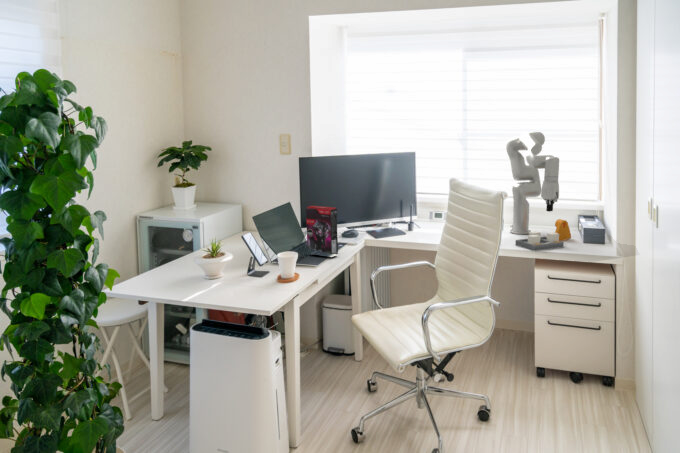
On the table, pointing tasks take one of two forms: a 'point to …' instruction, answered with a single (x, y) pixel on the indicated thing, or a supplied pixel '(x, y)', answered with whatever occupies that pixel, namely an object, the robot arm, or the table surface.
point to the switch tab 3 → (552, 237)
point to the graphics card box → (322, 229)
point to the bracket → (562, 229)
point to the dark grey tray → (543, 244)
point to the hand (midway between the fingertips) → (549, 211)
